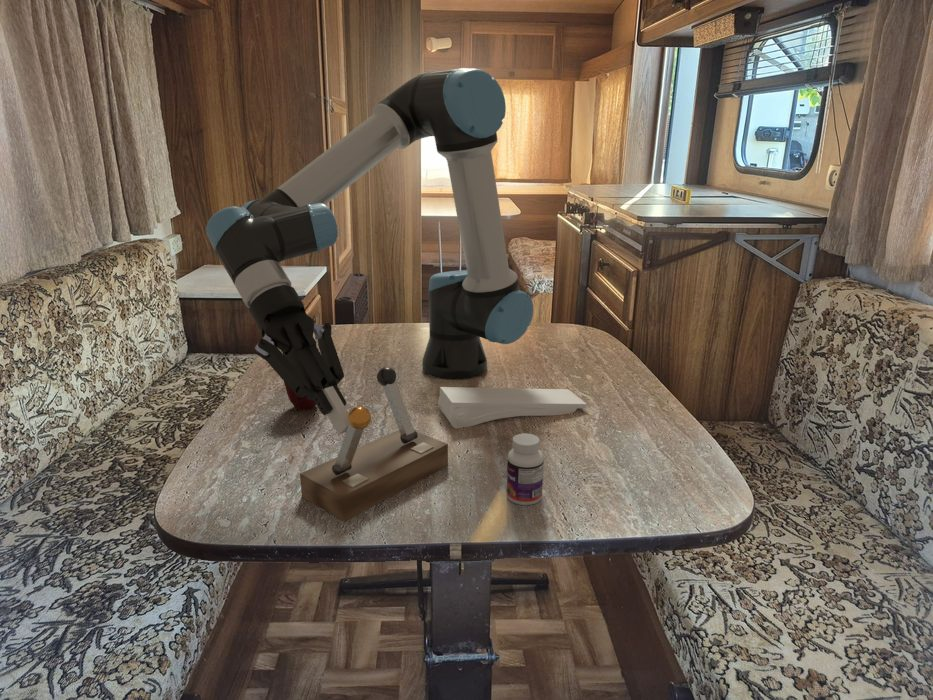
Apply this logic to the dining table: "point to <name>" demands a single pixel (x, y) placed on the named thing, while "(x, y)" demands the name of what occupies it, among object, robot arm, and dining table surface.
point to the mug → (299, 400)
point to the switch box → (373, 474)
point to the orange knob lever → (351, 439)
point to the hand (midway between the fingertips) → (346, 429)
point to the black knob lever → (396, 404)
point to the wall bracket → (503, 403)
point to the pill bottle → (525, 470)
